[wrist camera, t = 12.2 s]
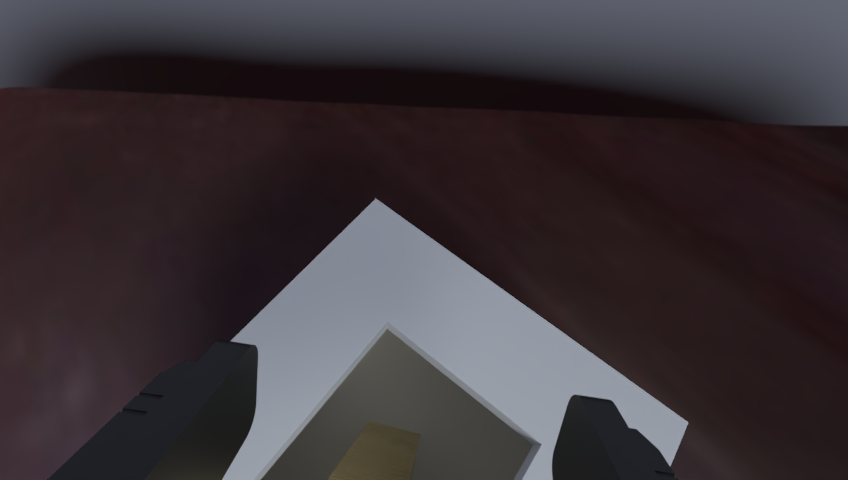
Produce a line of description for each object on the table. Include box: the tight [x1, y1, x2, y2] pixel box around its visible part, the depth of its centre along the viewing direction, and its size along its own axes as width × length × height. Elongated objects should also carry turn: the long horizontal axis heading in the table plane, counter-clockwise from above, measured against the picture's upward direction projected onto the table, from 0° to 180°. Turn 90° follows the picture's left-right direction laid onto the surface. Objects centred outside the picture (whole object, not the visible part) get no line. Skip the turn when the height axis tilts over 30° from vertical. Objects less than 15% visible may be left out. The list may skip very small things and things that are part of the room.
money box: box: [222, 199, 688, 480], centre depth 20 cm, size 15×16×13 cm
